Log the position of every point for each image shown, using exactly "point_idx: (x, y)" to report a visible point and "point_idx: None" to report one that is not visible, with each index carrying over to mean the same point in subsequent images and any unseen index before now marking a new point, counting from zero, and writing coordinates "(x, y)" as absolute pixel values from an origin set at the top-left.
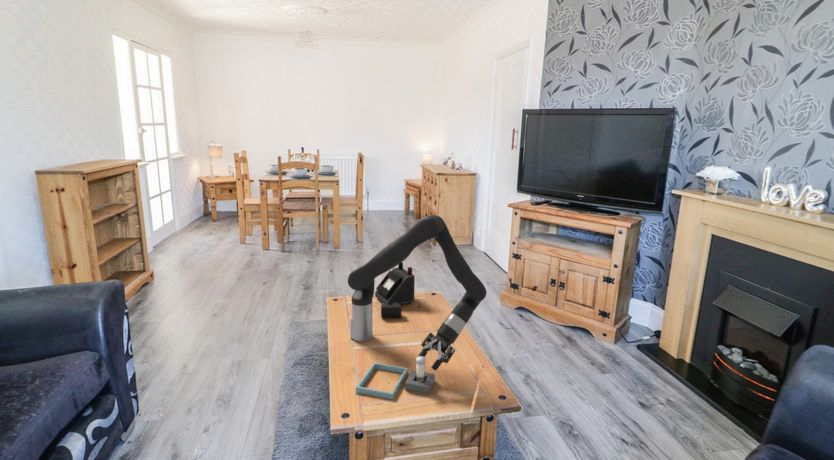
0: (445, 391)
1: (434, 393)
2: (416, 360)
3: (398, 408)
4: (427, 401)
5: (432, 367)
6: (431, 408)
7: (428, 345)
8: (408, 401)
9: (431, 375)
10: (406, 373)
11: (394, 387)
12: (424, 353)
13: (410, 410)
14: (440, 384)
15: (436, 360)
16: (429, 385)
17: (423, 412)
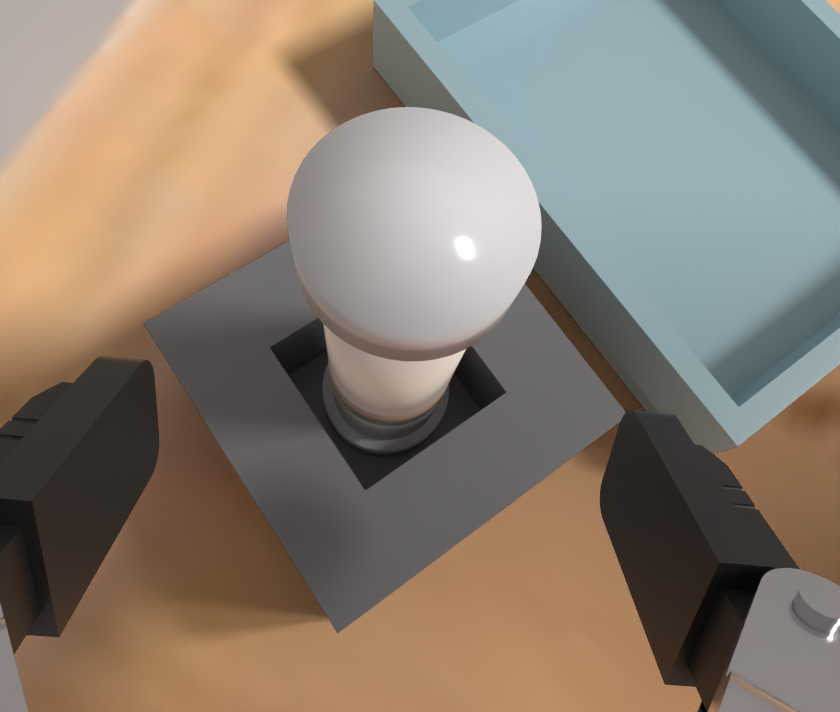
0: (120, 611)
1: (190, 467)
2: (433, 120)
3: (259, 46)
4: (139, 305)
5: (102, 357)
6: (20, 259)
7: (735, 694)
8: (279, 168)
9: (345, 555)
10: (676, 408)
11: (464, 77)
12: (661, 565)
13: (157, 99)
14: (279, 670)
15: (29, 470)
16: (170, 354)
17: (40, 163)
